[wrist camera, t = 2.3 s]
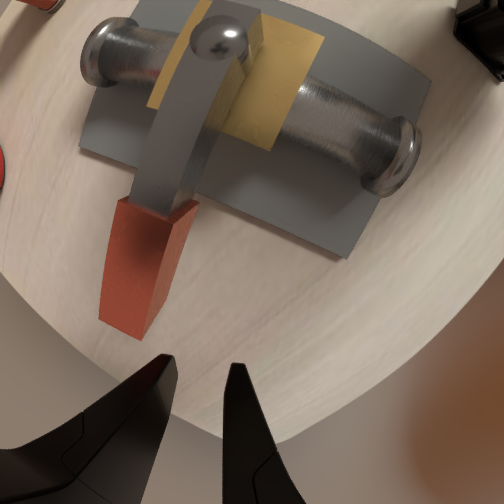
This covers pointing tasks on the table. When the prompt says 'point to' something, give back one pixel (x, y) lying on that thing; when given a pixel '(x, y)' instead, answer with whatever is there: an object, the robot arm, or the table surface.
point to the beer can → (1, 167)
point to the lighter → (46, 4)
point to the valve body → (266, 96)
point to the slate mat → (283, 150)
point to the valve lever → (175, 166)
